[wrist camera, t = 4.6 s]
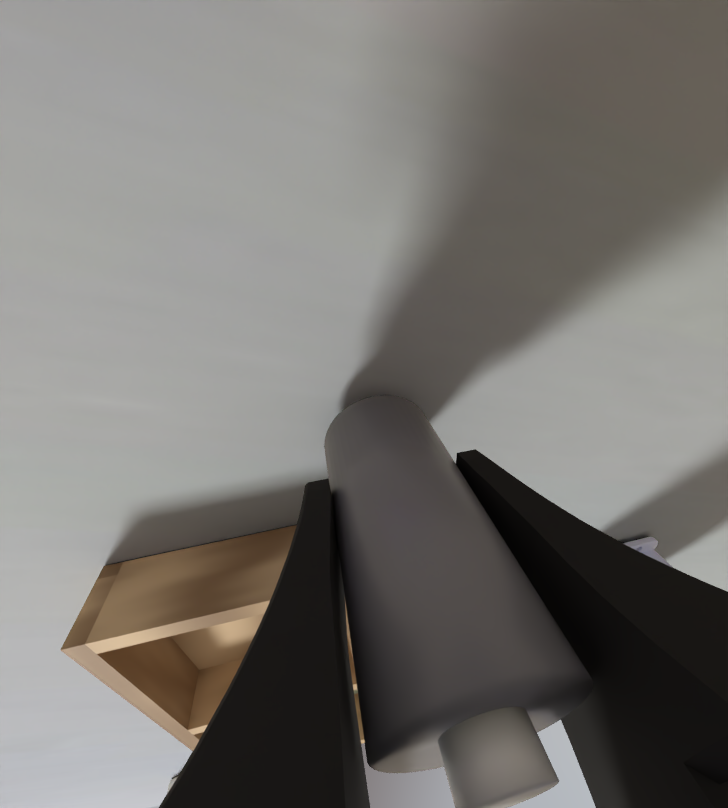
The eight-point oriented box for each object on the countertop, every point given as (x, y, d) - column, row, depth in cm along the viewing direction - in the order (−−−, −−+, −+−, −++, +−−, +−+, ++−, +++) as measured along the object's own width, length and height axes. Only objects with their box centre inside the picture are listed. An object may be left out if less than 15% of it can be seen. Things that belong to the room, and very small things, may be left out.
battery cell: (430, 386, 11) (683, 717, 4) (427, 470, 14) (591, 788, 6) (316, 406, 11) (367, 818, 4) (332, 489, 13) (385, 857, 6)
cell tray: (344, 514, 15) (355, 580, 13) (373, 682, 26) (383, 737, 24) (104, 565, 14) (60, 649, 12) (239, 719, 25) (232, 781, 22)
